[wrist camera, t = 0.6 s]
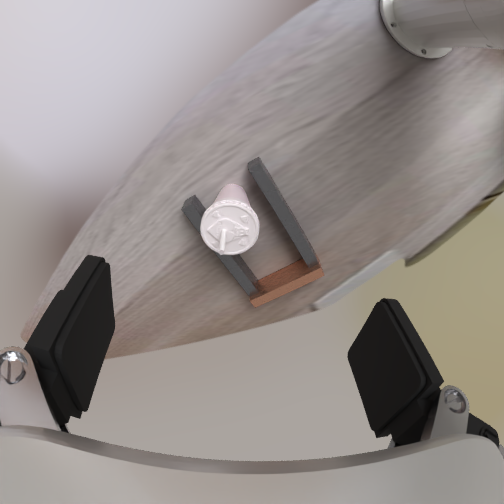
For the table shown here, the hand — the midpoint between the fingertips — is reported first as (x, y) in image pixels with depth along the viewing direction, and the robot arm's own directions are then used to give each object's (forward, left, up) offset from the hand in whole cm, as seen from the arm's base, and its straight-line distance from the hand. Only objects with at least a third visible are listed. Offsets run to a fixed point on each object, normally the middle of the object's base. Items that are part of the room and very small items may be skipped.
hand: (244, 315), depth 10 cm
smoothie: (+6, +6, -31) cm, 32 cm away
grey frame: (+6, +12, -31) cm, 33 cm away
